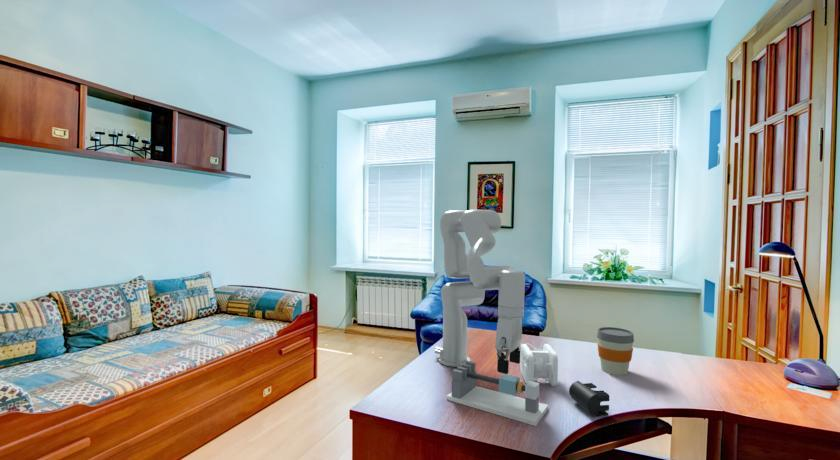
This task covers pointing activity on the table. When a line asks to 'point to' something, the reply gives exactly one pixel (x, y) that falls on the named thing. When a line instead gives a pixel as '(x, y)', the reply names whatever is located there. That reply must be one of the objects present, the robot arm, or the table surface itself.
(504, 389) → the sleeve
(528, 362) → the cable organizer
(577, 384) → the end cap
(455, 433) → the table surface
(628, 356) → the reusable coffee cup
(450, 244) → the robot arm
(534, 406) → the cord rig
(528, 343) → the pale grey flat piece
